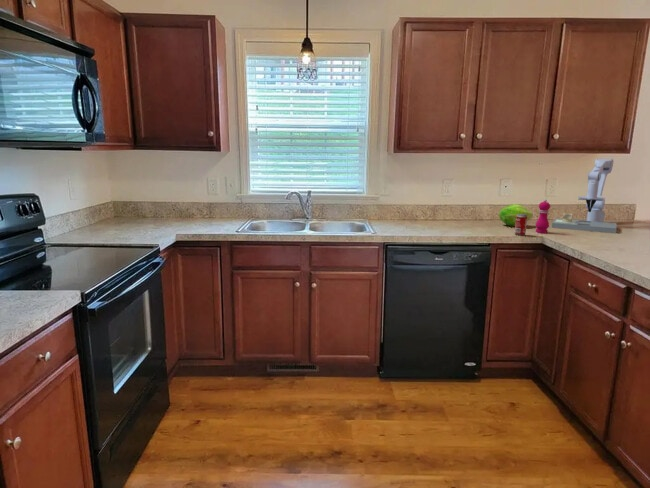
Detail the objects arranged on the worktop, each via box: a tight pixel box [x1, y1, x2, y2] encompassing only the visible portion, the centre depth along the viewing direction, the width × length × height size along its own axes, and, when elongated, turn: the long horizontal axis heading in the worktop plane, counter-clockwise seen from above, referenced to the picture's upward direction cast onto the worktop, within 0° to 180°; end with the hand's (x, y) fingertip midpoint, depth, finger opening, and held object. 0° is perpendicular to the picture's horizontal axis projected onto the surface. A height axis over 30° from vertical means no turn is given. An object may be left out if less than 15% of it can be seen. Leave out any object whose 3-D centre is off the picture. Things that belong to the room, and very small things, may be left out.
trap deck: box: [551, 217, 618, 234], centre depth 271 cm, size 34×22×3 cm, turn 56°
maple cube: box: [562, 212, 574, 223], centre depth 274 cm, size 5×5×5 cm
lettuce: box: [498, 203, 534, 227], centre depth 275 cm, size 15×20×14 cm
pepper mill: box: [535, 199, 551, 234], centre depth 253 cm, size 7×7×20 cm
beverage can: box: [514, 214, 528, 237], centre depth 246 cm, size 6×6×12 cm
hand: (589, 211), depth 274 cm, fingers closed
